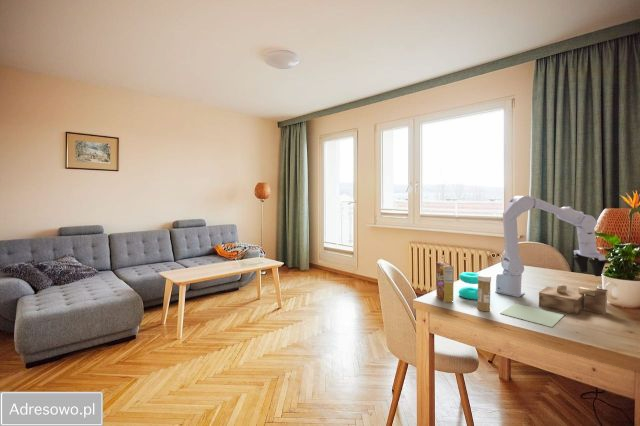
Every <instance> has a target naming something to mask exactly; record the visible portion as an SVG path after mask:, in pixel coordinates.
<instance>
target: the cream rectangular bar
mask: <svg viewBox="0 0 640 426" xmlns="http://www.w3.org/2000/svg"><path fill="white" fill-rule="evenodd" d="M595 290H596V289H594V288H588V287H582V286H579V287H578V291H577V292H578V293H581V294H584V295H585V294H587V295H592V296H595ZM605 292H606V291H605ZM606 297H607V298H608V291H607V292H606Z"/></svg>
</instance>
